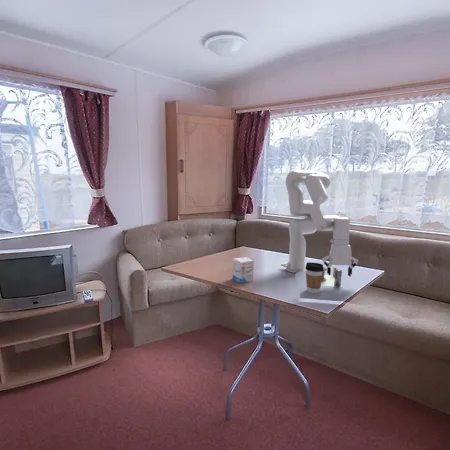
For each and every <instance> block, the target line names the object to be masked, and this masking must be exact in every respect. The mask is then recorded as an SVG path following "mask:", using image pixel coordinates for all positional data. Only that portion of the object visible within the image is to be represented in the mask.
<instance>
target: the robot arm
mask: <svg viewBox="0 0 450 450" xmlns="http://www.w3.org/2000/svg"><path fill="white" fill-rule="evenodd" d="M285 186H286V190H287V194H288V203H289V205H288V206H289V212H290V215H291V216H293V217H301V218H294V219H292V220H291V221H290V222H289V223H288V232H289V250H288V251H289V253H288V254H289V255H288V261H287V262H281V265H280V266H281V267H285V270H286V271H287V272H289V273H292V274H296V272H298V273H300V272H301V273H306V250H307V249H306V248H307V240H306V238H305V235H311V234H314V233H315V232H317V230H318V231H320V232H322V231H324V232H325V231H326V232H327V231H333V233H332V239H329V242H330V243H331V245H330V249H329V255H326V256H324V257H322V259H321V260H322V262H323V264H324V265H325V267H326V268H327V270H326V274H327V275H329V276H330V275H332V274H331V273H332V271H331V270H332V266H348V268H347V276H348V277H349V278H350V277H351V276H352V274H353V269H354V267H356V266H357V264H358V263H359V259H358V258H355V257H354V256H352V247H351V245H350V231H351V229H350V226H351V220H350V218H348V217H343V216H339V215H323V213H322V211H321V204H324V203H325V202H326V201H328V200H329V195H328V193H327V191H326V189H328V188H329V187H330V186H331V178H329V176H328V174H325V173H322V172H319V171H316V170H307V169H306V170H305V169H296V170H295V169H294V170H291V171H289V172H288V174H286V178H285ZM300 186H305V187H306V189H307V192H308V194H309V196H310V199H311V200H307V199H304V192H303V190H302V188H301V187H300ZM302 217H304V218H302ZM327 260H328V261H329V262H327ZM352 261H353V262H352Z"/></svg>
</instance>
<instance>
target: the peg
mask: <svg viewBox="0 0 450 450" xmlns="http://www.w3.org/2000/svg"><path fill="white" fill-rule="evenodd" d="M342 273H343V270H341V269H337V270H335V280H334V286H337V287H336V288H341V287H340V286H342Z"/></svg>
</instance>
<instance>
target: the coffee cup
mask: <svg viewBox="0 0 450 450" xmlns="http://www.w3.org/2000/svg"><path fill="white" fill-rule="evenodd" d="M323 267H324V265H323V264H322V263H318V262H312V261H311V262H310V261H309V262H308V261H307V262H306V263H305V268H306V272H305V278H306V281H305V282H306V291H307V292H308V293H310V294H318V293H320V292H321V291H320V290H321V287H322V286H321V281H322V275H323V274H322V272H323V270H324V268H323Z"/></svg>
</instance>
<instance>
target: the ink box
mask: <svg viewBox="0 0 450 450" xmlns="http://www.w3.org/2000/svg"><path fill="white" fill-rule="evenodd" d="M232 280H234V281H235V280H236V282H238V283H239V284H243V283H244V282H245V283H249V282H253V281H254V260H253V259H251V258H249V257H247V256H245V257H236V258H235V257H234V258H233V259H232Z"/></svg>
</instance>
